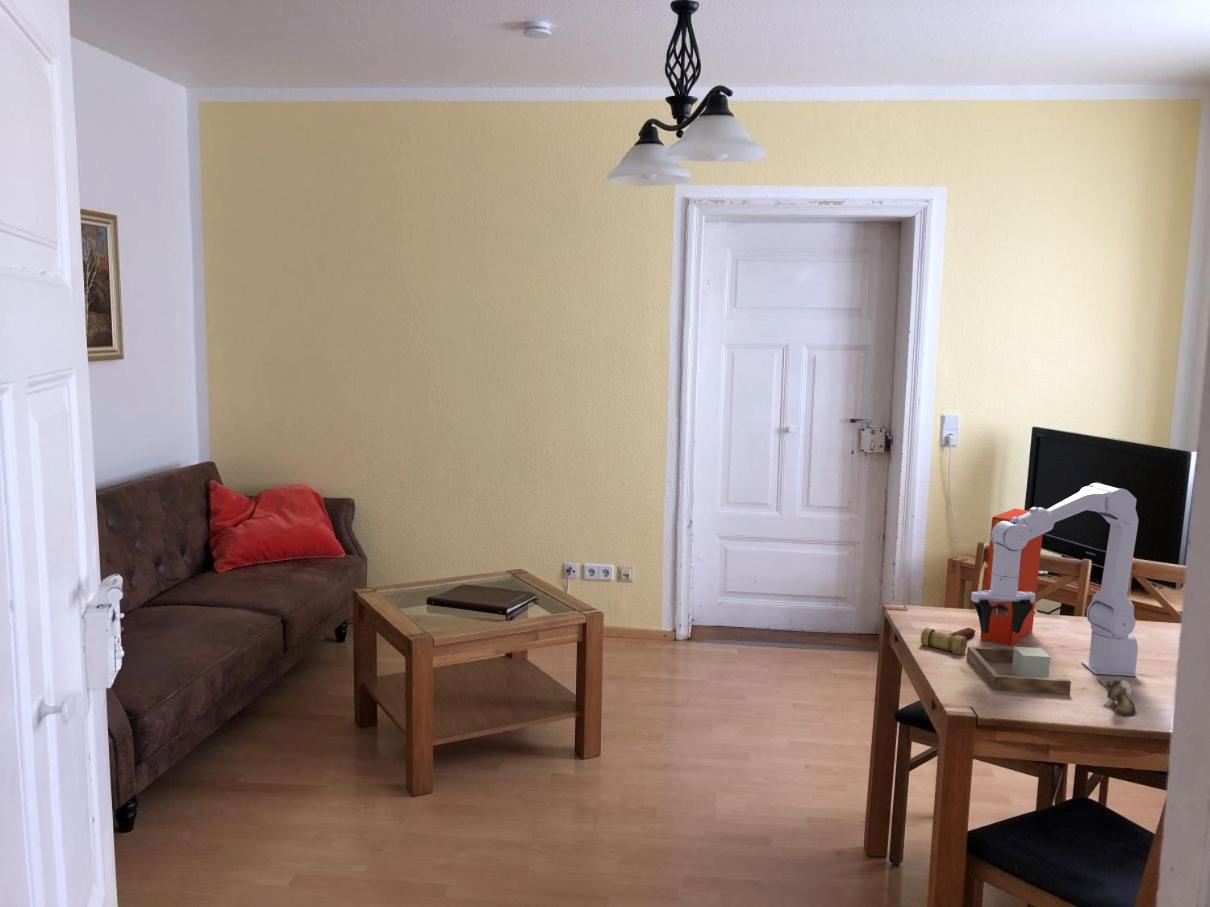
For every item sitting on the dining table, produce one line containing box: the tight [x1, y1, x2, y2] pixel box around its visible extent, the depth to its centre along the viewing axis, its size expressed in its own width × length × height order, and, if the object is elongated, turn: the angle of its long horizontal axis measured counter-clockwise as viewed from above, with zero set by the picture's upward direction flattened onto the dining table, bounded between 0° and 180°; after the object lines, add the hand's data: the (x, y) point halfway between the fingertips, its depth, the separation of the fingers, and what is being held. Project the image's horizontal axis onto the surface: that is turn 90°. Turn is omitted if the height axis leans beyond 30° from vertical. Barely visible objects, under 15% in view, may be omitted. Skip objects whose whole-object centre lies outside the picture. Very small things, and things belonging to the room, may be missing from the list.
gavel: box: [920, 627, 976, 656], centre depth 244 cm, size 21×5×10 cm
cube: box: [1011, 646, 1051, 678], centre depth 220 cm, size 6×6×6 cm
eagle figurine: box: [1096, 677, 1137, 718], centre depth 203 cm, size 8×7×9 cm
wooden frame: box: [966, 645, 1072, 695], centre depth 220 cm, size 16×20×3 cm
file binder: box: [979, 508, 1044, 647], centre depth 248 cm, size 8×17×32 cm, turn 140°
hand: (1000, 631), depth 221 cm, fingers open, 7 cm apart
